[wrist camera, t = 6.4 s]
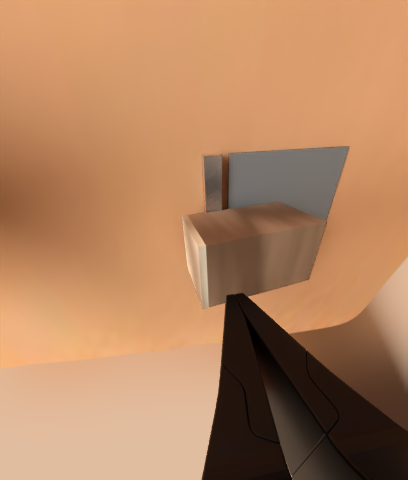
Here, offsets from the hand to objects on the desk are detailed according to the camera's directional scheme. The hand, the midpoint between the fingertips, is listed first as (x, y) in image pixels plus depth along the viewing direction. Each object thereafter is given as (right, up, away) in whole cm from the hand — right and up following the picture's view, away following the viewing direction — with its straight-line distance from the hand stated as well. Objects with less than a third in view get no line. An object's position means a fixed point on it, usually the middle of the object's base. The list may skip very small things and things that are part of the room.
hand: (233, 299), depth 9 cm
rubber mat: (+5, +4, +7) cm, 10 cm away
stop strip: (-1, +4, +7) cm, 8 cm away
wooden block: (-2, +2, +3) cm, 4 cm away
